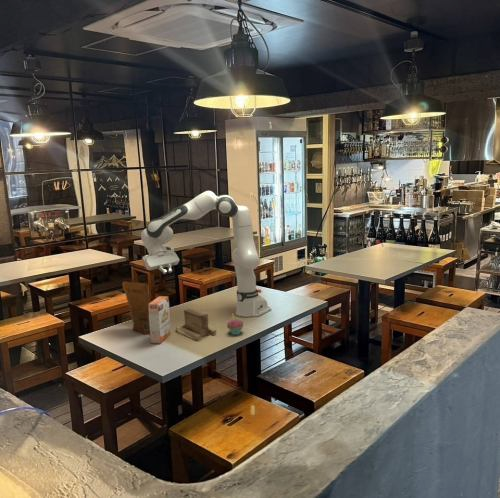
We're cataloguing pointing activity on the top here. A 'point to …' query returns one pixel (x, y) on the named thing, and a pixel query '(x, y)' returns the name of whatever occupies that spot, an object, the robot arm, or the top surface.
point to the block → (196, 322)
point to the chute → (191, 334)
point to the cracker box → (159, 319)
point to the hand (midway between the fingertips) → (168, 272)
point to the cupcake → (235, 326)
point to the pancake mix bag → (138, 305)
